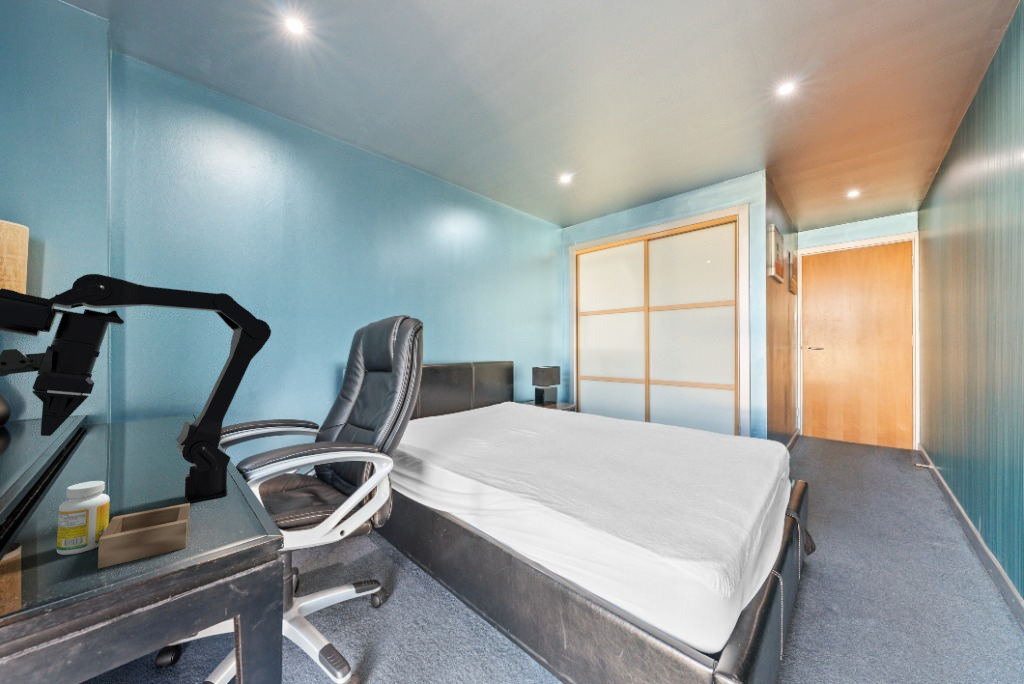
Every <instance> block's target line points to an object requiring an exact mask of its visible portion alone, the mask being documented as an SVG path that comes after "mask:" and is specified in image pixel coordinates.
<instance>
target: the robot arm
mask: <svg viewBox="0 0 1024 684" xmlns="http://www.w3.org/2000/svg"><path fill="white" fill-rule="evenodd" d="M55 307H57V308H55ZM80 307H81V308H82V307H87V308H85V309H84V310H83V312H76V311H70V310H71V309H75V308H80ZM126 307H127V308H128V307H130V308H131V307H155V308H167V309H184V310H195V311H196V310H197V311H207V312H214V313H216V314H217V315H218V316H219V317H220V319H221V320H222V321H223V322H224V323H225V325H227V326H228V328H229V329H231V330H232V331H233V332H232V337H231V340H230V348H229V349H230V350H229V354H228V357H227V359H226V361H225V363H224V365H223V367H222V370H221V371H220V373H219V375H218V378H216V379H217V380H216V381H215V384H214V386H213V388H212V390H211V392H210V394H209V395H208V398H207V400H206V402H205V404H204V406H203V408H202V410H201V412H200V414H199V415H198V417H196V419H195V420H193V422H192V423H191V422H189V421H184V422H183V426H182V428H181V431H180V434H179V435H178V436H177V437H176V438H175V439H174V440H175V441H176V442H177V445H176V449H177V452H178V453H179V455H180V456H181V458H183V459H184V460H185V461H186V462H188V463H190V464H191V466H189V473H187V474H186V475H185V479H184V480H185V481H184V482H185V483H184V497H185V498H186V499H187V501H186V502H187V503H193V502H198V501H204V500H208V499H215V498H219V497H226V496H228V465H229V463H230V461H231V456H230V455H228V454H227V453H225V452H224V451H223V450H222V449H220V448H219V446H220V441H221V437H222V430H223V429H222V428H223V421H224V419H225V418H226V417H225V416H226V415H227V413H228V411H229V408H230V406H231V404H232V402H233V400H234V398H235V396H236V393H237V391H238V388H239V387H240V385H241V382H242V381H243V378H244V376H245V374H246V372H247V369H248V367H249V366H250V363H251V361H252V360H253V359H254V357H255V356H256V355H257V354H258V353H259V352H260V351H261V350H262V349H263V348H264V346H265V344H266V343H267V342H268V341H269V339H270V338H271V335H272V329H271V327H270V325H269V324H268V323H267V322H266V321H265V320H263V319H259V318H256V316H255V315H254V314H253V313H252V312H250V311H249V310H248V309H247V308H245V307H243V306H242V305H241V304H239V303H238V302H237V301H236V300H235V299H234V298H233V296H231V295H230V294H228V293H223V292H221V293H215V292H213V293H212V292H207V291H195V290H187V289H186V290H185V289H175V288H169V287H167V288H166V287H158V286H150V285H149V286H148V285H144V284H138V283H134V282H131V281H129V280H124V279H122V278H117V277H112V276H108V275H104V274H100V273H88V274H84V275H82V276H79V277H78V278H77V279H76V280H75V281H74V282H73V283H72V287H71V288H69V289H67V290H65V291H63V292H61V293H59V294H55V296H53V297H51V298H46V297H41V296H37V295H36V296H35V295H31V294H26V293H21V292H18V291H16V290H12V289H8V288H0V332H5V333H9V334H10V333H11V334H17V335H25V336H29V337H38V336H39V334H40V333H50V332H51V330H52V327H53V325H54V324H55V320H56V318H57V315H61V318H60V320H59V323H58V326H57V329H56V331H55V333H54V336H53V339H52V342H51V343H50V345H47V347H46V350H45V352H38V353H28V354H27V353H25V354H24V352H23V351H21V350H20V349H18V348H12V349H9V348H8V349H3V350H2V351H1V353H0V377H5V376H6V377H7V376H9V375H13V374H14V375H15V374H21V373H23V374H25V373H32V372H37V373H36V374H37V376H36V377H35V381H34V383H33V386H32V391H31V392H32V393H33V395H34V396H35V397H36V398H37V399H39V401H41V402H42V407H41V408H42V410H41V421H40V436H42V437H50V436H52V435H53V434H54V433H55V432H56V431H57V430H58V429H59V428H60V427H61V425H62V424H64V423H65V422H66V420H67V419H68V418H69V417H70V416H71V415H72V414H73V413H74V412H75V411H76V410H77V409H78V408H79V407H80V406H81V405H82V404H83V403H84V402H85V401H86V400H87V399H88V398H89V395H90V394H91V395H92V392H93V389H94V386H95V381H94V380H92V376H93V374H92V373H93V370H94V366H95V365H96V361H97V358H98V357H99V356H100V353H101V351H100V350H101V346H102V343H103V341H104V338H105V336H106V332H107V330H108V327H109V325H110V324H111V325H116V326H123V324H124V323H125V321H124V320H123V318H121V317H120V315H119V314H118V311H117V310H112V311H109V312H103V311H98V310H92V309H113V308H126ZM59 308H62V309H59ZM88 308H91V309H88ZM64 309H67V310H64Z"/></svg>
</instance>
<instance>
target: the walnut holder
mask: <svg viewBox="0 0 1024 684" xmlns="http://www.w3.org/2000/svg"><path fill="white" fill-rule="evenodd" d="M190 511H191V502H187V503H182V504H176V505H171V506H167V507H165V506H164V507H161V508H160V507H159V508H155V509H150V510H145V511H138V512H134V513H133V512H132V513H128V514H122V515H117V516H113V517H112V518H111V520H110V522H109V525H108V526H107V528H106V529H105V531H104V533H103V534H102V536H101V537H100V539H99V547H98V554H97V557H98V559H97V569H98V570H99V569H102V568H107V567H110V566H111V567H112V566H115V565H119V564H123V563H124V564H125V563H128V562H133V561H136V560H141V559H145V558H148V557H149V558H150V557H152V556H158V555H162V554H166V553H171V552H174V551H178V550H182V549H187V542H188V536H189V530H190V524H191V523H190V519H191V518H190V517H191V513H190Z"/></svg>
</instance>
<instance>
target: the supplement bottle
mask: <svg viewBox="0 0 1024 684" xmlns="http://www.w3.org/2000/svg"><path fill="white" fill-rule="evenodd" d="M105 484H106V482H105V481H103V480H93V481H85V482H84V481H83V482H79V483H76V484H73V485H70V486H68V487H66V493H65V494H66V495H65V496H66V500H65V501H63V502H62V503H60V505H59V507H58V516H57V537H56V552H57V554H59V555H62V556H68V555H76V554H81V553H85V552H87V551H92V550H94V549H97V548H99V539H100V537H101V536H102V534H103V533H104V531H105V529H106V528H107V526H108V525H109V523H110V522H109V519H110V506H111V505H110V500H111V498H110V496H109V495H108V494H106V493H103V492H104V490H105V488H106V487H105V486H106V485H105Z"/></svg>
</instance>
